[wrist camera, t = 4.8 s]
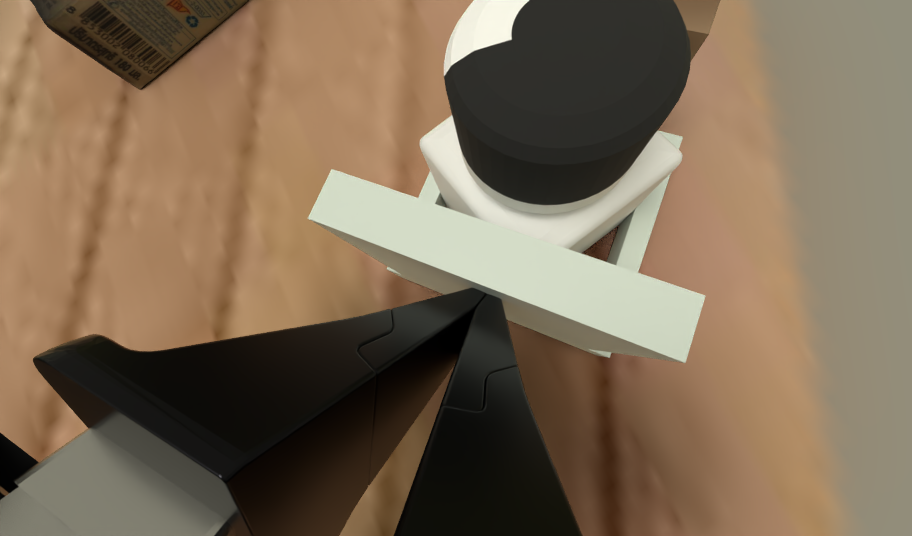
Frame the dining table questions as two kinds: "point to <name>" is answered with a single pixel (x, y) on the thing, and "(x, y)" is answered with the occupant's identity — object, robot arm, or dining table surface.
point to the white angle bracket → (521, 267)
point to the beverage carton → (134, 30)
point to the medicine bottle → (558, 113)
